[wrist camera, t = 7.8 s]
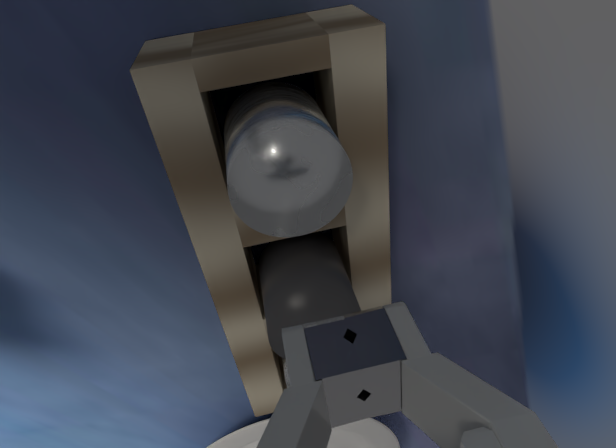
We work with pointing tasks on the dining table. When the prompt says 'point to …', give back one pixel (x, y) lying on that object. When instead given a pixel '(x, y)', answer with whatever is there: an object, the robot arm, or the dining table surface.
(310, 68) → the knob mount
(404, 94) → the dining table surface
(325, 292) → the black knob middle
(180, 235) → the dining table surface
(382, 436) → the candlestick
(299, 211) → the steel knob
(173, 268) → the dining table surface
